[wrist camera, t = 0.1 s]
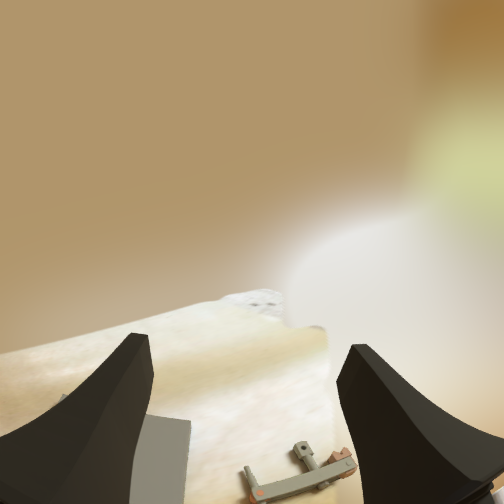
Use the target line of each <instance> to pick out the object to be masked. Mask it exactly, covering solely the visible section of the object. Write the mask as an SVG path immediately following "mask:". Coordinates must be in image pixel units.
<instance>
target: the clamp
mask: <svg viewBox="0 0 504 504" xmlns="http://www.w3.org/2000/svg"><path fill="white" fill-rule="evenodd" d="M293 449H294V450H295V452H296V454H297V456H298V458H299V459H300V460H304V462H305V464H306V466H307V467H308V469H309V471H310V472H307V473H304V474H301V475H298V476H295V477H291V478H288V479H285V480H281V481H277V482H274V483H270V484H266V485H262V486H258V484H257V481H256V479H255V477H254V476H253V474H252V473H251V471H250V468H249V466H245V467H244V469H245V472H246V476H247V480H248V483H249V485H250V488H251V494H250V497H249V499H250V502H251V503H253V504H266V503H268V502H272V501H276V500H279V499H283V498H286V497H289V496H293V495H296V494H299V493H302V492H305V491H308V490H311V489H313V488H316V487H318V488H319V489H323V488H326V487H327V486H329V484H330V483H329V482H332V481H334V480H339V479H341V478H343V479H344V478H345V477H348V476H350V475H352V474H353V473H354V472H355V471H356V470H357V464H356V463H355V461H354V460H353V459H352V457H351V455H352V454H351V453H350V451H349V450H348V449H347V448H345V447H344V448H343V449H342V451H341V452H340V453H338V452H335V451H333V453H332V454H331V456H330V457H329V459H328V462H329V465H327V466H324V467H321V468H318V466H317V464H316V463H315V461H314V459H313V458H312V456H313V454H314V453H313V452H312V450H311V448H310V447H309V445H308V443H307V441H301V442H298V443H296V444H295V445H294V447H293Z"/></svg>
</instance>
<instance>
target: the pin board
mask: <svg viewBox="0 0 504 504" xmlns="http://www.w3.org/2000/svg"><path fill="white" fill-rule="evenodd" d="M67 396H68V395H65V394H63V395H62V397H61V399H60V400H59V402H60V401H62V400H63V399H64V398H66V397H67ZM59 402H58V403H59ZM190 434H191V421H189V420H181V419H173V418H166V417H159V416H153V415H147V414H145V418H144V421H143V425H142V428H141V432H140V435H139V439H138V443H137V446H136V451H135V455H134V461H133V469H132V477H131V487H130V500H129V504H183V503H184V492H185V481H186V471H187V461H188V452H189V443H190Z"/></svg>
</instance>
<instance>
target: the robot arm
mask: <svg viewBox="0 0 504 504" xmlns="http://www.w3.org/2000/svg"><path fill="white" fill-rule="evenodd" d="M153 377H154V371H153V365H152V359H151V353H150V346H149V339H148V335H145V334H138V333H130V334H129V335H128V336H127V337H126V338H125V339H124V341H123V342H122V343H121V344H120V345H119V346H118V347H117V348H116V349H115V350H114V352H113V353H112V354H111V355H110V356H109V357H108V358H107V359H106V360H105V361H104V362H103V363H102V364H101V365H100V366H99V367H98V368H97V369H96V370H95V371H94V372H93V373H92V374H91V375H90V376H89V377H88V378H87V379H86V380H85V381H84V382H83V383H82V384H81V385H79V386H78V387H77V388H76V389H75V390H74V391H73V392H72V393H70V394H69V395H68V396H67V397H66V398H64V399H63V400H62V401H60V402H59V403H58V404H57V405H55V406H54V407H52V408H51V409H50V410H48V411H47V412H45V413H44V414H42V415H41V416H39V417H38V418H36V419H35V420H33V421H31V422H29V423H28V424H26V425H24V426H22V427H20V428H18V429H16V430H14V431H12V432H10V433H8V434H6V435H4V436H1V437H0V504H129V500H130V487H131V477H132V469H133V461H134V455H135V451H136V446H137V443H138V439H139V435H140V432H141V428H142V425H143V421H144V418H145V414H146V411H147V407H148V404H149V400H150V395H151V390H152V384H153ZM336 383H337V388H338V395H339V399H340V404H341V408H342V411H343V414H344V417H345V420H346V423H347V426H348V429H349V432H350V435H351V438H352V441H353V444H354V448H355V451H356V454H357V458H358V463H359V469H360V475H361V481H362V490H363V498H364V504H504V486H503V487H501V488H500V489H499V490H497V491H496V492H495V493H493V494H492V495H491V492H490V490H491V489H493V488H494V485H493V483H492V481H493V480H494V479H495V478H497V477H498V476H499V475H501V474H502V473H503V472H504V439H503V438H500V437H497V436H493V435H491V434H488V433H486V432H483V431H481V430H478V429H476V428H474V427H472V426H470V425H468V424H466V423H464V422H462V421H460V420H459V419H457V418H455V417H453V416H452V415H450V414H448V413H447V412H445V411H444V410H442V409H441V408H439V407H438V406H436V405H435V404H434V403H432V402H431V401H430V400H428V399H427V398H426V397H425V396H423V395H422V394H421V393H420V392H418V391H417V390H416V389H415V388H414V387H413V386H411V385H410V384H409V383H408V382H407V381H406V380H405V379H404V378H402V377H401V376H400V375H399V374H398V373H397V372H396V371H395V370H394V369H393V368H392V367H391V366H390V365H389V364H388V363H387V362H385V361H384V360H383V359H382V358H381V357H380V356H379V355H378V354H377V353H376V352H375V351H374V350H373V349H371V348H370V347H369V346H368V345H367V344H353V345H352V346H351V348H350V351H349V353H348V355H347V358H346V361H345V363H344V365H343V367H342V369H341V372H340V374H339V376H338V379H337V381H336Z"/></svg>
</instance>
